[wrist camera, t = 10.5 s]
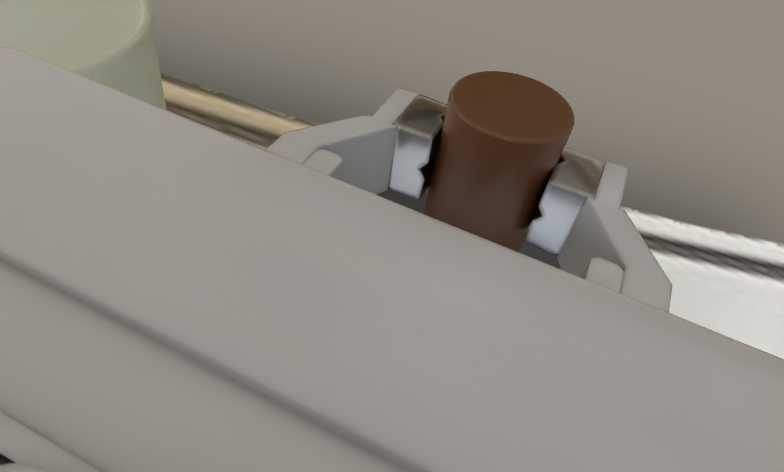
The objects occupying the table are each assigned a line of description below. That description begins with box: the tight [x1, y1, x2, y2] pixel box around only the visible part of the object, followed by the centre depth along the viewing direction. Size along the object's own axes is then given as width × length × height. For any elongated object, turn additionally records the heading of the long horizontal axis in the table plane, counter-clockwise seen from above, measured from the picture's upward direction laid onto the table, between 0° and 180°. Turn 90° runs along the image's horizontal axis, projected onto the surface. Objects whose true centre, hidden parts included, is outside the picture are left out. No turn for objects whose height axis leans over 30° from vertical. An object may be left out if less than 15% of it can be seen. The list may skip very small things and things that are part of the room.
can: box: [0, 0, 167, 110], centre depth 21 cm, size 9×9×12 cm
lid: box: [377, 71, 574, 269], centre depth 14 cm, size 11×11×7 cm
